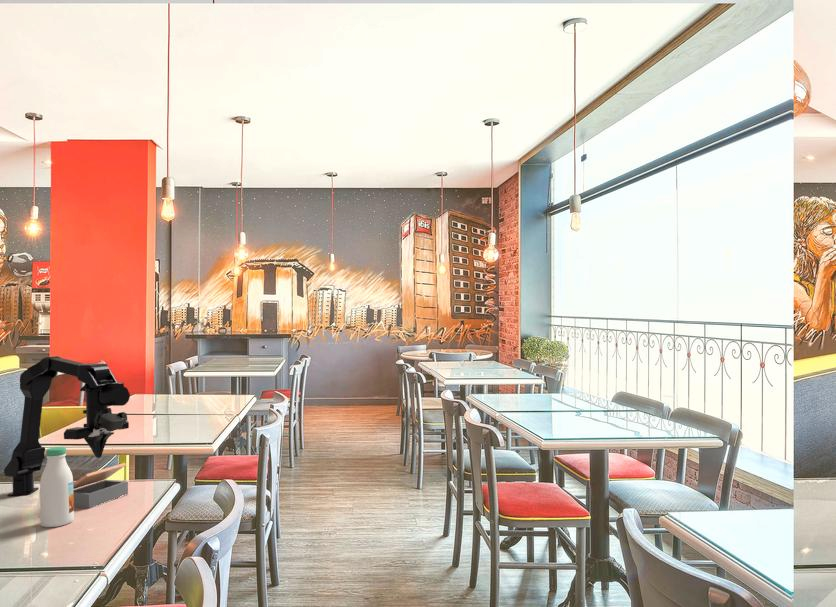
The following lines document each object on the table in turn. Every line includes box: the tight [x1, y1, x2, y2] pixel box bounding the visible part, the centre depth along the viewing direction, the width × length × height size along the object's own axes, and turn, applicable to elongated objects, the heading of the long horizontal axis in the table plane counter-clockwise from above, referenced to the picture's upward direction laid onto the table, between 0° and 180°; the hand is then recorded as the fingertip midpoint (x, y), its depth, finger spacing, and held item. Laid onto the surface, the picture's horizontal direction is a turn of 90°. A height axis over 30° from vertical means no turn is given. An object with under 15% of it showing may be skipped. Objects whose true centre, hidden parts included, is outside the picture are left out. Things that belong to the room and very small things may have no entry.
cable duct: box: [73, 479, 129, 509], centre depth 182 cm, size 9×14×4 cm, turn 160°
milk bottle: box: [39, 446, 75, 528], centre depth 162 cm, size 8×8×20 cm
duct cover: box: [73, 462, 127, 490], centre depth 183 cm, size 10×14×1 cm
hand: (98, 457), depth 182 cm, fingers closed
